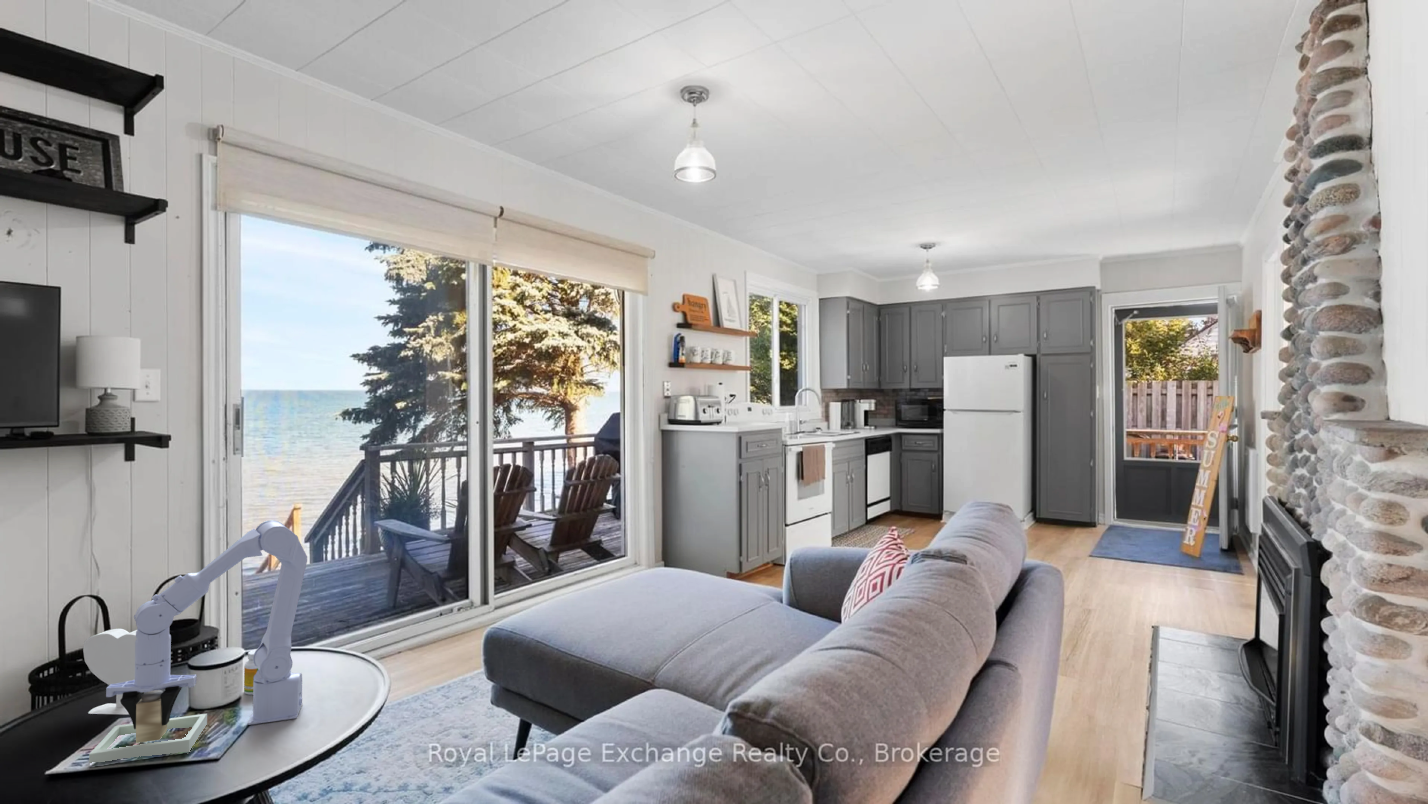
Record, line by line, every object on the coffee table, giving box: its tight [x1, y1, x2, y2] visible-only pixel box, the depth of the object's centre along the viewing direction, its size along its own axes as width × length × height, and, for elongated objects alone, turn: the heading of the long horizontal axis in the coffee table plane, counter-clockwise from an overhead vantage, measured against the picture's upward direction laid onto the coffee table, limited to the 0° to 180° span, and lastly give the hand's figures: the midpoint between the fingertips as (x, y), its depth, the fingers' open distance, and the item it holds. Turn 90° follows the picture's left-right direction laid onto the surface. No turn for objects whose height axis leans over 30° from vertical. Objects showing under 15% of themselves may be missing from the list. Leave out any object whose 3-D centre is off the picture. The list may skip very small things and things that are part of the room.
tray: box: [88, 713, 208, 764], centre depth 140 cm, size 16×12×3 cm
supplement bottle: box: [243, 648, 258, 695], centre depth 167 cm, size 5×5×10 cm
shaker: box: [136, 689, 167, 743], centre depth 140 cm, size 4×4×9 cm
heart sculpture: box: [82, 628, 137, 715], centre depth 156 cm, size 16×5×18 cm, turn 90°
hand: (151, 724), depth 140 cm, fingers closed on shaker, 4 cm apart
